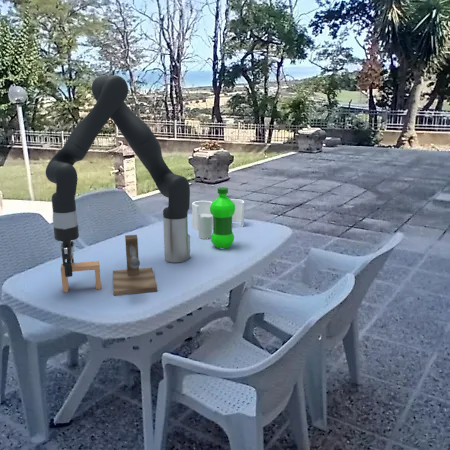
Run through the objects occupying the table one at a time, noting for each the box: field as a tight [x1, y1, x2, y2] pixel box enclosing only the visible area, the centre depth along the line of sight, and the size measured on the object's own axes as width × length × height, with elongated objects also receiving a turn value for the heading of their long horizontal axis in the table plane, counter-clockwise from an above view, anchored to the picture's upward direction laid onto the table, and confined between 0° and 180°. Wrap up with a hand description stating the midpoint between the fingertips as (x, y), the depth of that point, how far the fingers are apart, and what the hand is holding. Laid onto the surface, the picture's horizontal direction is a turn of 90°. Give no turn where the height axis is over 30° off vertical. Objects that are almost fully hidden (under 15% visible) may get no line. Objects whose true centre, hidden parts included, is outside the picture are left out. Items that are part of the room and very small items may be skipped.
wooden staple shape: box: [60, 260, 102, 293], centre depth 158 cm, size 12×4×8 cm, turn 104°
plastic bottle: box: [210, 186, 235, 249], centre depth 197 cm, size 10×10×25 cm
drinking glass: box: [197, 214, 213, 240], centre depth 211 cm, size 7×7×10 cm
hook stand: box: [112, 234, 158, 296], centre depth 159 cm, size 24×14×15 cm, turn 14°
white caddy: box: [191, 198, 245, 231], centre depth 227 cm, size 25×10×12 cm, turn 105°
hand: (69, 271), depth 157 cm, fingers open, 8 cm apart
